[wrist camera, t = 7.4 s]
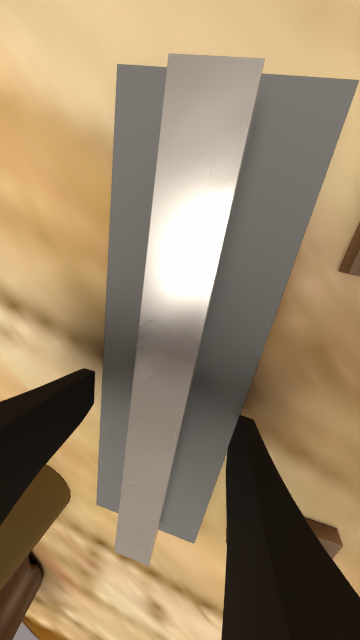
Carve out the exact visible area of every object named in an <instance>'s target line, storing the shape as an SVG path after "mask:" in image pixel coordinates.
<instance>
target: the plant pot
mask: <svg viewBox="0 0 360 640" xmlns="http://www.w3.org/2000/svg"><path fill="white" fill-rule="evenodd" d="M41 582H42V574H41V571H40V569H39V567H38V565H36V564H30V562H29V554H28V555H27V557H26V558H25V559H24V561H23V562H22V563H21V564H20V566H19V567H18V568H17V570H16V571H15V572H14V573H13V575H12V576H11V577H10V579H9V580H8V581H7V582H6V584H5V585H4V586H3V588H2V589H1V590H0V640H12V639H13V638H14V636H15V634H16V632H17V630H18V628H19V626H20V624H21V622H22V620H23V618H24V616H25V614H26V612H27V610H28V608H29V606H30V605H31V603H32V601H33V599H34V597H35V595H36V593H37V591H38V589H39V587H40V585H41Z"/></svg>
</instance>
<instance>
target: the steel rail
mask: <svg viewBox="0 0 360 640" xmlns="http://www.w3.org/2000/svg"><path fill="white" fill-rule="evenodd" d="M264 60H265V59H262V58H244V57H225V56H207V55H188V54H170V53H169V56H168V65H167V74H166V83H165V93H164V102H163V111H162V120H161V129H160V138H159V148H158V157H157V166H156V175H155V184H154V193H153V203H152V212H151V221H150V230H149V239H148V249H147V258H146V267H145V276H144V285H143V294H142V304H141V313H140V322H139V331H138V340H137V349H136V359H135V368H134V377H133V386H132V395H131V405H130V414H129V423H128V432H127V441H126V450H125V460H124V469H123V478H122V487H121V496H120V505H119V515H118V524H117V533H116V542H115V551H114V552H117V553H119V554H121V555H124V556H126V557H128V558H131V559H133V560H135V561H138V562H140V563H142V564H145V565H147V566H149V564H150V560H151V556H152V552H153V548H154V544H155V540H156V537H157V533H158V529H159V525H160V521H161V517H162V512H163V508H164V504H165V499H166V495H167V491H168V486H169V482H170V478H171V474H172V469H173V465H174V461H175V456H176V452H177V448H178V443H179V439H180V435H181V431H182V426H183V422H184V418H185V413H186V409H187V405H188V400H189V396H190V392H191V387H192V383H193V379H194V375H195V370H196V366H197V362H198V357H199V353H200V349H201V344H202V340H203V336H204V332H205V327H206V323H207V319H208V314H209V310H210V306H211V301H212V297H213V293H214V288H215V284H216V280H217V276H218V271H219V267H220V263H221V258H222V254H223V250H224V245H225V241H226V237H227V233H228V228H229V224H230V220H231V215H232V211H233V207H234V202H235V198H236V194H237V189H238V185H239V181H240V177H241V172H242V168H243V164H244V159H245V155H246V151H247V146H248V142H249V138H250V134H251V129H252V125H253V121H254V116H255V111H256V106H257V100H258V94H259V89H260V83H261V77H262V72H263V66H264Z"/></svg>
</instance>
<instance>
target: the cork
mask: <svg viewBox="0 0 360 640" xmlns="http://www.w3.org/2000/svg"><path fill="white" fill-rule="evenodd" d="M70 497H71V496H70V490H69V488H68V486H67V484H66V482H65V481H64V480H63V479H62V477H61V476H60V475H59V474H58V473H57V472H56V471H54V470H53V469H52V468H51V467H49V466H47V465H44V467H43V468H42V469H41V470H40V472H39V473H38V474H37V475H36V477H35V478H34V479H33V481H32V482H31V484H30V485H29V486H28V488H27V489H26V490H25V492H24V493H23V494H22V496H21V497H20V499H19V500H18V501H17V503H16V504H15V506H14V507H13V509H12V510H11V511H10V513H9V514H8V516H7V517H6V519H5V520H4V521H3V523H2V524H1V526H0V590H1V589H2V588H3V586H4V585H5V584H6V582H7V581H8V580H9V579H10V577H11V576H12V575H13V573H14V572H15V571H16V570H17V568H18V567H19V566H20V564H21V563H22V562H23V561H24V559H25V558H26V557H27V555H28V554H29V553H30V552H31V550H32V549H33V548H34V546H35V545H36V544H37V543H38V541H39V540H40V539H41V538H42V536H43V535H44V534H45V532H46V531H47V530H48V529H49V527H50V526H51V525H52V523H53V522H54V521H55V520H56V518H57V517H58V516H59V514H60V513H61V512H62V511H63V509H64V508H65V507H66V505H67V504H68V503H69V500H70Z"/></svg>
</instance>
